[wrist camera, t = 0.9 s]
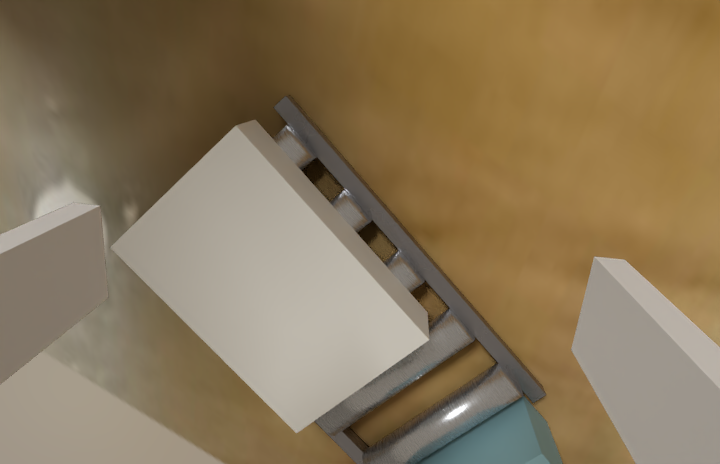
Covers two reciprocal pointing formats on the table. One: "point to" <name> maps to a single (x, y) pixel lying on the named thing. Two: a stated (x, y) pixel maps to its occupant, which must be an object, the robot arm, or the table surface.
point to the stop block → (502, 440)
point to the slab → (273, 278)
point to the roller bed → (446, 332)
